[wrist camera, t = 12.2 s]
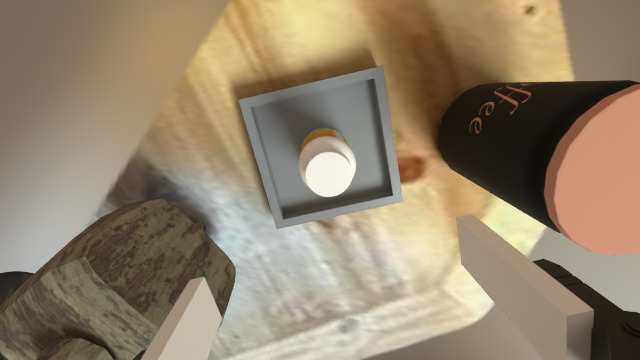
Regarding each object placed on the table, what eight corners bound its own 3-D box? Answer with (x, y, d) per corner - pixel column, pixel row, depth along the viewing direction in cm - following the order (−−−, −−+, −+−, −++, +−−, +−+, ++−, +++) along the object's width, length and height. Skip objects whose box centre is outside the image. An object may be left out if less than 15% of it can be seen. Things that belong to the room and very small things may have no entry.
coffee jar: (522, 70, 32) (757, 53, 15) (528, 161, 36) (729, 231, 18) (426, 98, 33) (549, 111, 16) (441, 185, 36) (556, 274, 19)
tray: (279, 219, 37) (276, 229, 35) (243, 98, 33) (238, 99, 30) (397, 194, 36) (403, 201, 34) (377, 67, 32) (382, 65, 30)
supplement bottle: (292, 159, 34) (284, 186, 25) (315, 117, 33) (316, 130, 23) (332, 181, 35) (339, 215, 26) (357, 142, 34) (373, 163, 24)
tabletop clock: (120, 215, 36) (-240, 459, 13) (171, 171, 35) (-132, 352, 11) (206, 291, 40) (49, 592, 16) (255, 253, 39) (162, 525, 15)
